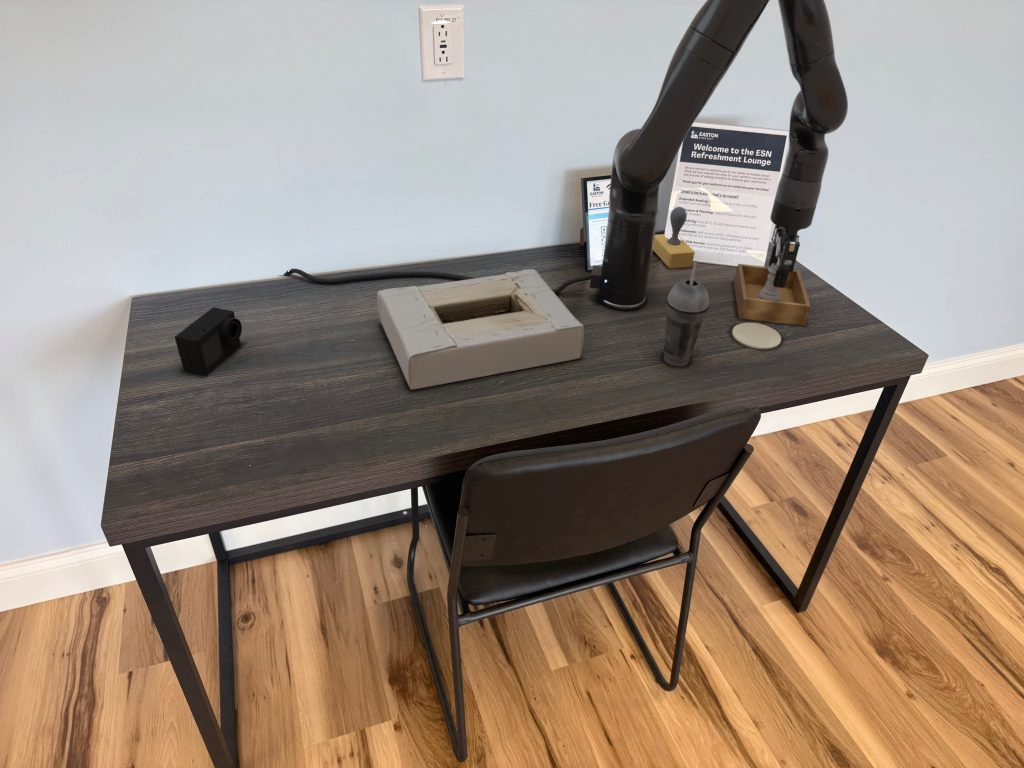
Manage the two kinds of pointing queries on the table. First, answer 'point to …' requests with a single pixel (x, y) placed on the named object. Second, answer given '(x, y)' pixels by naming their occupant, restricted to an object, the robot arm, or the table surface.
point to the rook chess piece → (770, 286)
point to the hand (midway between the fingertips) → (776, 276)
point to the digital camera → (208, 340)
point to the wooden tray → (785, 311)
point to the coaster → (756, 335)
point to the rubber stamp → (674, 243)
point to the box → (477, 327)
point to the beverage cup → (684, 319)
